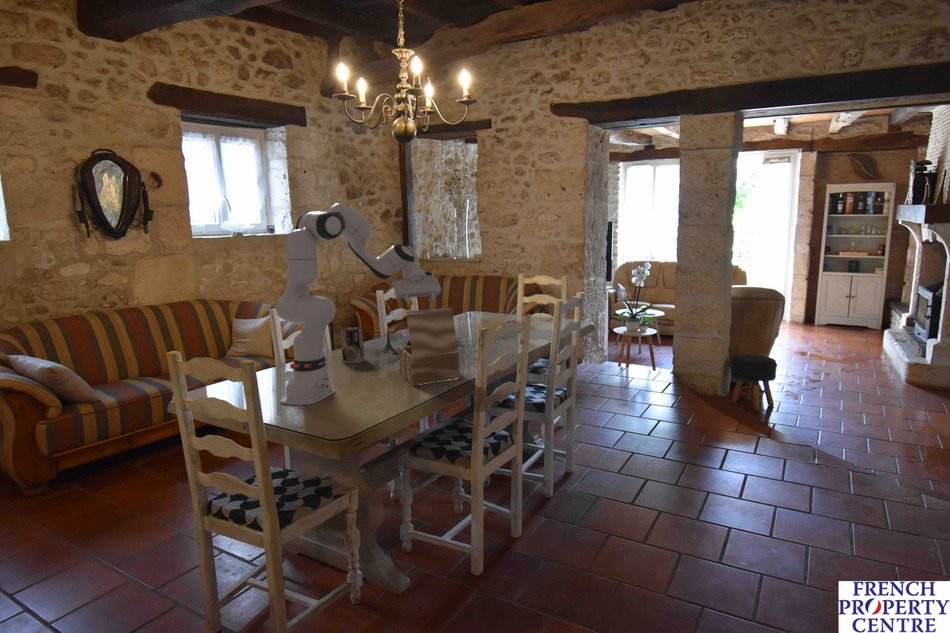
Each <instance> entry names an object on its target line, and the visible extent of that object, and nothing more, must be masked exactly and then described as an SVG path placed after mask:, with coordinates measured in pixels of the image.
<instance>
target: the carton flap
mask: <svg viewBox="0 0 950 633" xmlns="http://www.w3.org/2000/svg"><path fill="white" fill-rule="evenodd" d="M405 314H406V321H407V322H406V323H407V327H408V328H407V329H409V336H410V341H409V343H410V346H411V351H412V356H418V355H427V354H435V353H443V352H452V351H458V352H459V349H458V347H459V346H458V341H457V335H456V328H455V320H454V314H453V308H452V307H442V308H431V309H430V308H429V309H420V310H419V309H418V310H409V311H406V312H405Z"/></svg>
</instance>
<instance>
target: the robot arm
mask: <svg viewBox="0 0 950 633" xmlns="http://www.w3.org/2000/svg"><path fill="white" fill-rule="evenodd" d="M296 220H297V221H296V225H295V227H294V230H292V231H290V232H289V233H288V235H287V239H286V240H287V242H286V263H287V264H286V265H287V266H286V267H287V282H286V286H285V289H284V292H283V294H282V295H281V296H280V297H279V298H278V299H277V301H276V303H275V312H276V315H277V317H278V318H279V319H281V320H284V321H287V322H288V323H289V322H290V323H299V324H301V331H300V333H299V334H297V335H296V336H295V337H294V339H293V353H294V354H293V355H294V359H293V362H291V363H290V365H289V367H290V368H289V369H293V371H292V373H291V374H290V378H289V379H288V381H287V384H286V386H285V394H284V396H282V398H281V399H280V402H279V404H282V405H289V406H291V405H292V406H306V405H315V404H317V403H318V402H320V401H322V400H324V399H326V398H328V397H330V396H331V395H333V394H335V393H336V389H334V388H333V386H332V380H331V375H330V371H329V370H328V369H327V367H326V365H327V363H326V361H327V360H326V356H325V352H324V334H325V331H326V328H327V326H328V325H329V324H330V322H332V321H333V319H334V318H335V317H336V316H335V315H336V312H337V311H336V309H337V308H336V304H335V302H334V300H332V299H331V298H329V297H326V296H323V295H318V294H317V295H313V294H310V290H311V289H310V288H311V286H312V285H313V284H315V283H316V282H317V281H318V278H319V268H318V254H317V252H318V251H317V246H318V242H319V241H325V240H327V241H330V240H331V241H332V240H334V239H337V238H338V237H339V236H340V235H343V236H344V237H345V238H347V240H348V242H347V244H348V247H349V248H350V251H352V252H353V254H354V255H355V256H356V257H358V259H359V260H361V262H363V264H364V265H366V267H367V268H369V269H370V271H371V273H373V275H374V276H375V277H376V278H378V279H379V280H388V279H390V277H391V276H393V274H395V273H397V271H399V270H401V271H402V277H403V278H400V279H399V278H395V279H394V280H391V281H392V282H391V285H392V287H393V288H394V291H393V293H394V297H395V298H396V299H404V301H406V302H407V304H408V306H412V305H413V300H412V299H410V298H419V297H421V298H422V297H430V298H429V299H428V302H429V304H434V303H435V299H434V297H436V296H439V295H440V294H441V291H442V288H441V285H440V282H439V281H438V279H437V278H436V277H435V273H434V272H433V271H428V270H424V269H423V268H421V263H420V260H419V257H418V254H417V252H416V251H415V249H414V248H413V247H412V246H410V245H408V246H407V245H405V244H402V243H401V244H400V243H395V244H393V245H392V246H390V247H389V248H387V249H386V251H384V252H383V253H381V255H378V256H374V255H373V254H372V252H370V251H369V250H368V249H367V248H366V245H367V243H369V242H368V241H369V240H370V238H371V235H372V224H371V222H370V221H369V220H368V219H367V218H366V216H364V215H363V214H361V213H360V212H358V211H357V210H356V209H354V208H352V207H350V206H349V205H346V204H344V203H341V202H339V203H334V204H333V205H332V206H331V207H330V208H329V209H328V211H325V210H324V211H322V210H314V211H307V212H304V213H302V214H300V215H299V217H298V218H297V219H296Z"/></svg>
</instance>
